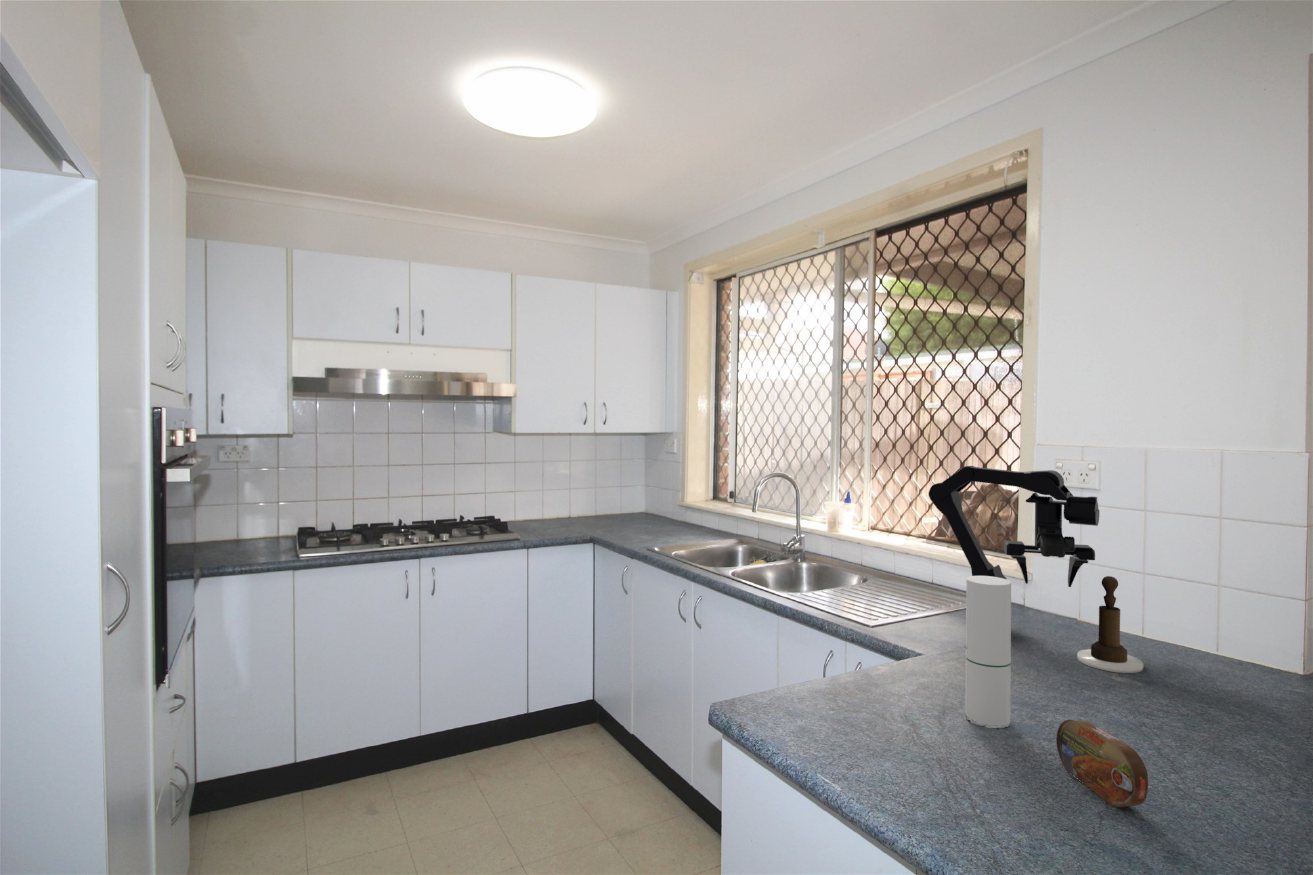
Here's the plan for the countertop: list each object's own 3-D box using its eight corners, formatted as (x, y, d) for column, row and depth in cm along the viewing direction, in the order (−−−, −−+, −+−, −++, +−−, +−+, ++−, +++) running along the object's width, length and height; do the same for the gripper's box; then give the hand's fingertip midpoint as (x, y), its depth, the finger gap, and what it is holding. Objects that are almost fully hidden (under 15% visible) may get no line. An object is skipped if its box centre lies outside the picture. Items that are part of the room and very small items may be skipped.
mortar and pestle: (1125, 656, 148) (1126, 575, 148) (1128, 665, 143) (1130, 581, 142) (1090, 651, 152) (1091, 572, 151) (1091, 659, 146) (1093, 577, 146)
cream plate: (1084, 668, 143) (1084, 663, 143) (1072, 650, 155) (1072, 646, 155) (1151, 676, 139) (1151, 671, 139) (1133, 657, 150) (1133, 653, 150)
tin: (1054, 763, 104) (1054, 709, 104) (1073, 762, 104) (1073, 709, 104) (1130, 820, 89) (1131, 758, 89) (1153, 819, 89) (1153, 757, 89)
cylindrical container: (1006, 714, 121) (1007, 577, 120) (1013, 731, 114) (1014, 586, 114) (963, 708, 123) (964, 574, 123) (967, 725, 117) (968, 583, 116)
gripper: (1009, 524, 160) (1009, 589, 160) (1101, 528, 153) (1100, 596, 153) (1004, 518, 170) (1003, 579, 170) (1089, 522, 163) (1089, 585, 163)
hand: (1047, 585), depth 164 cm, fingers open, 9 cm apart
